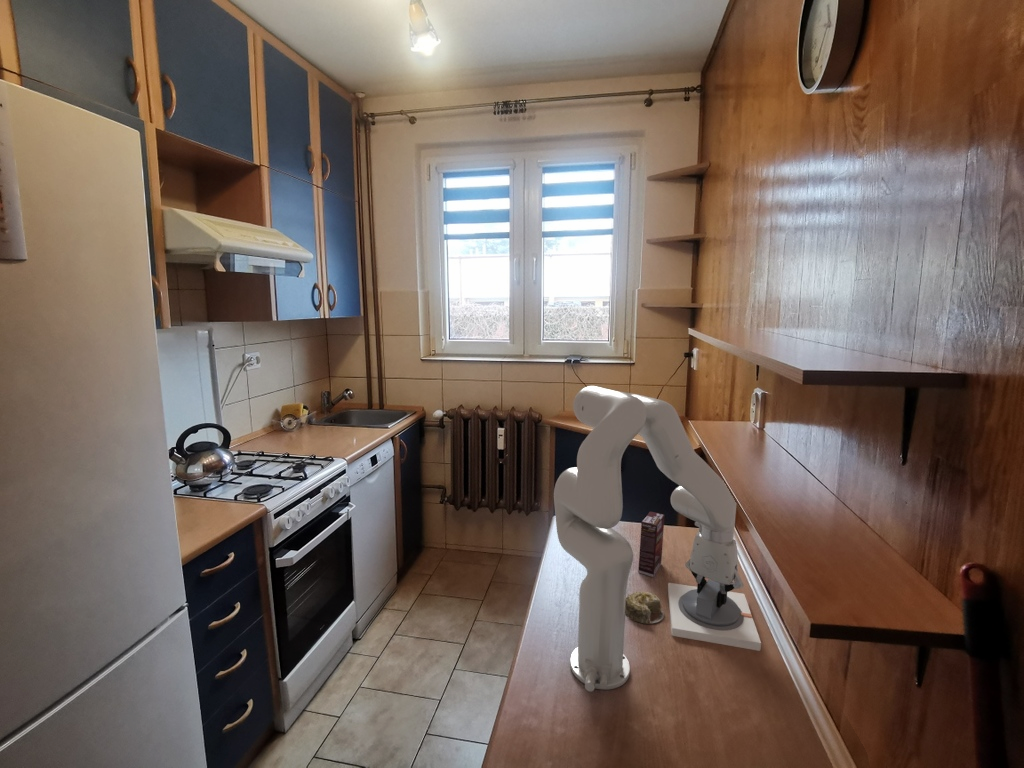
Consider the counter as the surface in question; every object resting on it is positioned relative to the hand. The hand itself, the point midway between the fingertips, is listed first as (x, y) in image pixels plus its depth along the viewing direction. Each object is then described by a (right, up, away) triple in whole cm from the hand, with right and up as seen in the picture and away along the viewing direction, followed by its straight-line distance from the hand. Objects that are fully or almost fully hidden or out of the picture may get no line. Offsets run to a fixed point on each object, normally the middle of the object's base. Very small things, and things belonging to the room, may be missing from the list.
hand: (711, 600), depth 119 cm
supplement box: (-9, -1, +22) cm, 24 cm away
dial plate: (0, -5, +1) cm, 5 cm away
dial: (0, -2, 0) cm, 2 cm away
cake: (-16, -5, +3) cm, 17 cm away
